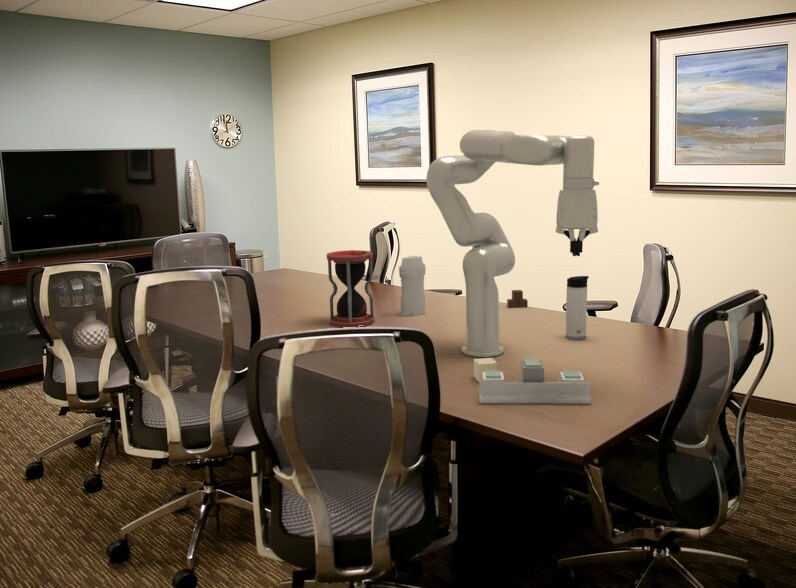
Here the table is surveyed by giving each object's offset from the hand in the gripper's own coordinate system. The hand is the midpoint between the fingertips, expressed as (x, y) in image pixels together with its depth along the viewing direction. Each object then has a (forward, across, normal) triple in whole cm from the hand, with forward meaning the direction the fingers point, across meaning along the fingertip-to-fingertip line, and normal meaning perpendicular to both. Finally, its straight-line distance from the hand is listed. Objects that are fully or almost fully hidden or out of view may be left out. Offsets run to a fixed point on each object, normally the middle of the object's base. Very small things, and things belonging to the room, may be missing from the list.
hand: (576, 255), depth 191 cm
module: (+32, +12, +20) cm, 39 cm away
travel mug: (+32, -5, -36) cm, 48 cm away
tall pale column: (+32, +50, -68) cm, 90 cm away
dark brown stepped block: (+33, +12, -83) cm, 90 cm away
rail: (+32, +12, +25) cm, 42 cm away
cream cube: (+32, +24, +7) cm, 40 cm away
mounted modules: (+32, +12, +20) cm, 39 cm away
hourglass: (+32, +70, -55) cm, 95 cm away
